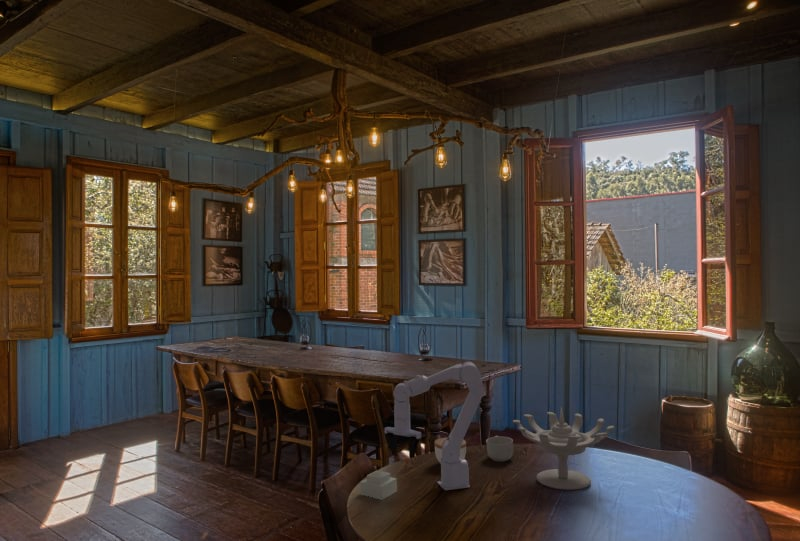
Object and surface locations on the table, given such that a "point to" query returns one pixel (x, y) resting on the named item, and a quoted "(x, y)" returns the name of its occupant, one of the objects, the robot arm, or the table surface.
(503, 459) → the teacup
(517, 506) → the table surface
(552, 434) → the candelabra
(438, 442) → the lidded bowl
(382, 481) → the white block
